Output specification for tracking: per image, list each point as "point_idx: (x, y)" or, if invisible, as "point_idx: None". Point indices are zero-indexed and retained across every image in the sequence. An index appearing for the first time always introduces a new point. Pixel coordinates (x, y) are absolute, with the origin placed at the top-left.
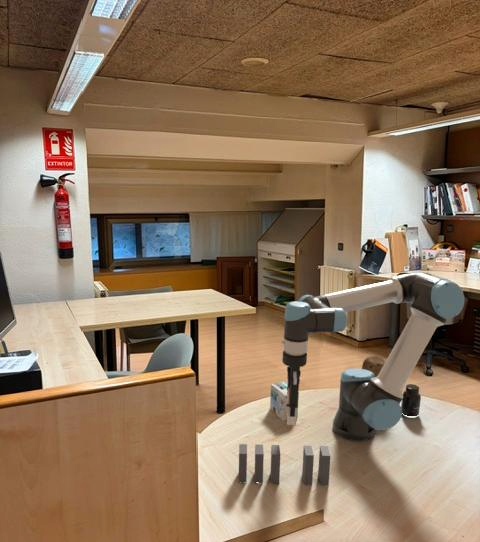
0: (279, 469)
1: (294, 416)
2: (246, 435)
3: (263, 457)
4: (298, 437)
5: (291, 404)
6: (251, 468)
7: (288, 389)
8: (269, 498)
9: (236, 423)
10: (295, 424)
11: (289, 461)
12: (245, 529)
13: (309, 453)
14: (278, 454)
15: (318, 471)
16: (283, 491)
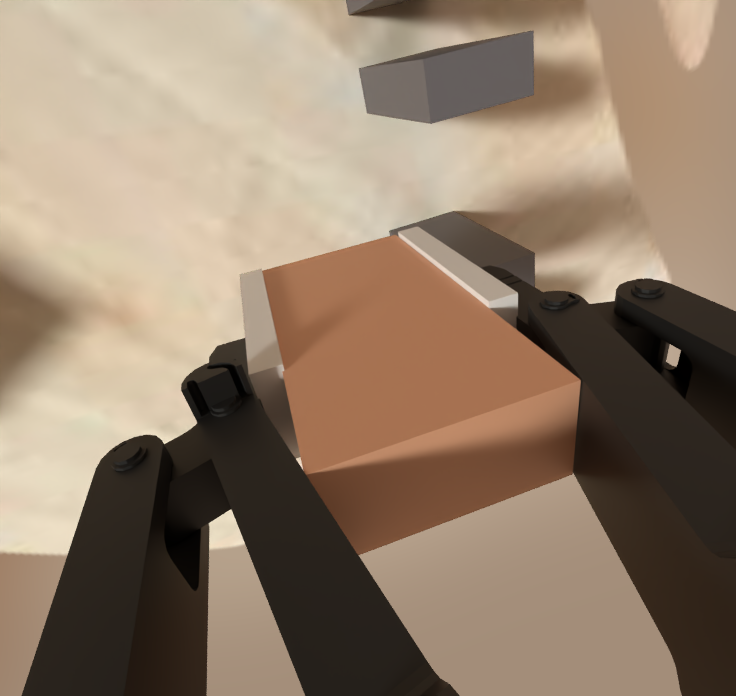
0: (489, 230)
1: (493, 267)
2: (158, 432)
3: None
4: (10, 186)
5: (679, 367)
6: None
7: (395, 540)
8: (532, 229)
9: (80, 500)
10: (421, 230)
11: (285, 197)
12: (651, 264)
13: (513, 68)
14: (533, 263)
15: (359, 10)
16: (493, 184)
